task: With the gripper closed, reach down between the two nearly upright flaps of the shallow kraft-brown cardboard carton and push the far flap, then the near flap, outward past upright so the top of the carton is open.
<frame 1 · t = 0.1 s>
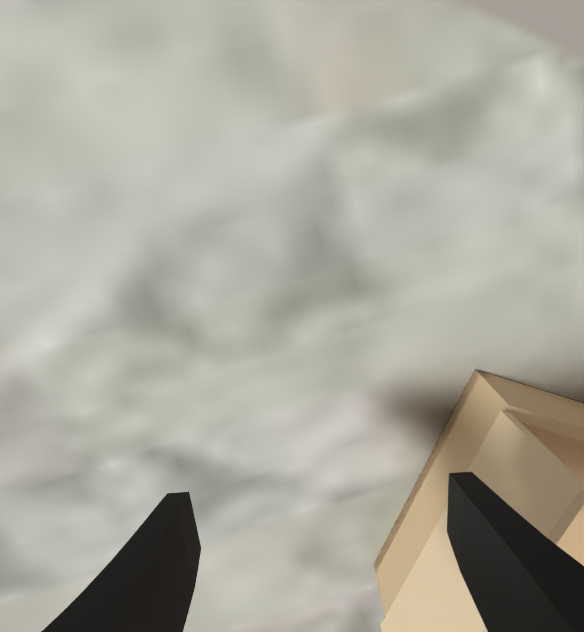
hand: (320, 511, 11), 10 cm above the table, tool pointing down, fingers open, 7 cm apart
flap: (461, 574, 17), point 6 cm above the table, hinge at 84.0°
carton: (522, 504, 24), on the table
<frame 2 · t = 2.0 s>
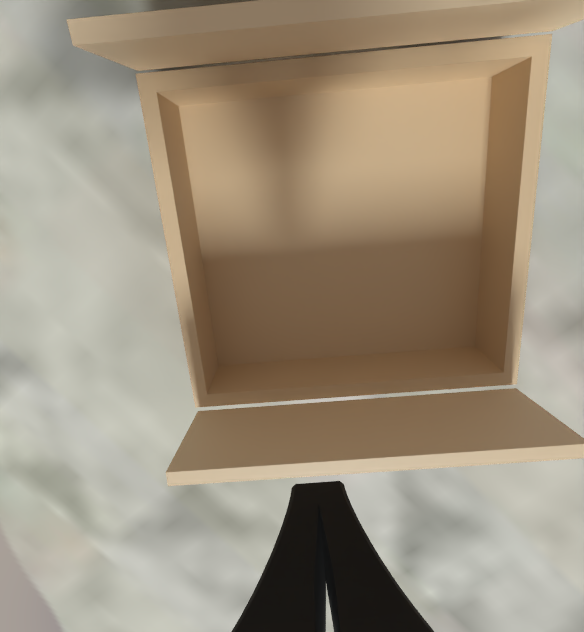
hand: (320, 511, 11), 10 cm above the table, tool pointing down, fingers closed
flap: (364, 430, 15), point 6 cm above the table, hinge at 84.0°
carton: (338, 235, 19), on the table
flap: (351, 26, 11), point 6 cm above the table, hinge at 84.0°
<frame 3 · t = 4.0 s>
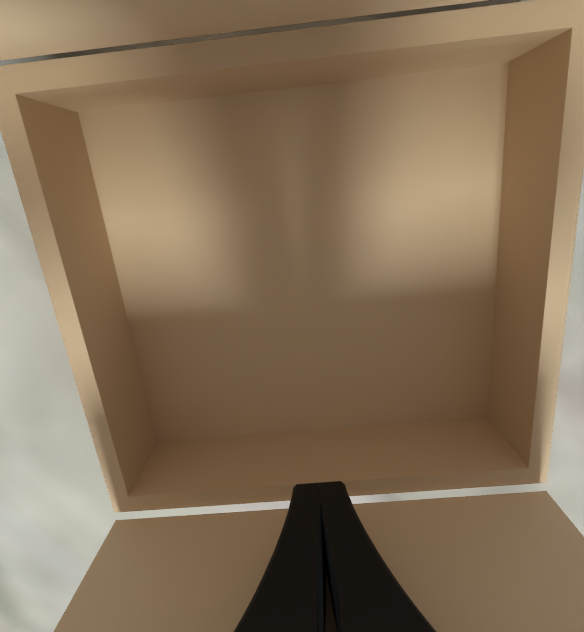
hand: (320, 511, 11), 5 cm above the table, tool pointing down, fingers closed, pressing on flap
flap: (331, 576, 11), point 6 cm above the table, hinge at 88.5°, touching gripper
carton: (305, 277, 15), on the table
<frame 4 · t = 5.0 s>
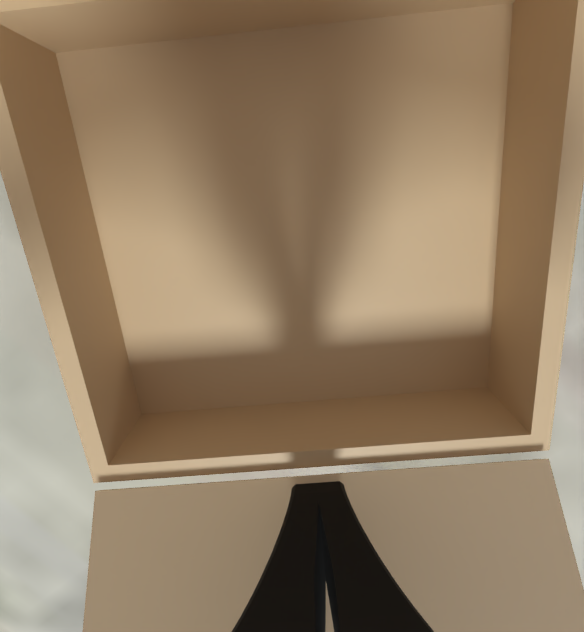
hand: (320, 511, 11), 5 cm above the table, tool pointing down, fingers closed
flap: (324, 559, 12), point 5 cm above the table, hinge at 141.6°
carton: (297, 238, 14), on the table
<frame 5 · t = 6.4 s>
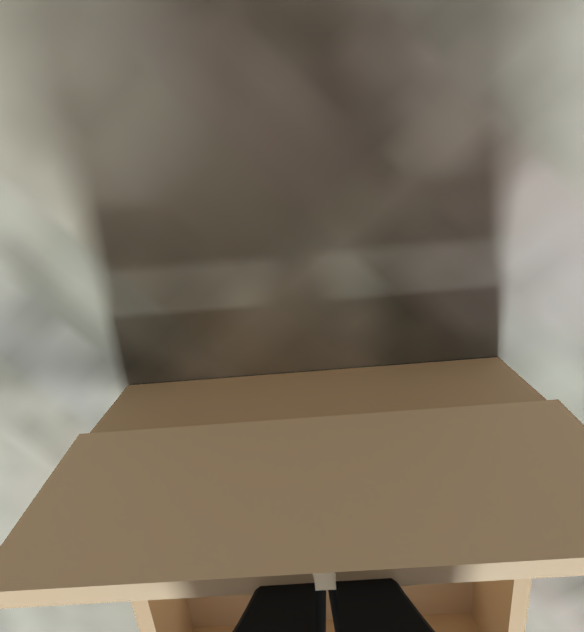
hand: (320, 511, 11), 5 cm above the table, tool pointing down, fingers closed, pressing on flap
carton: (321, 508, 18), on the table
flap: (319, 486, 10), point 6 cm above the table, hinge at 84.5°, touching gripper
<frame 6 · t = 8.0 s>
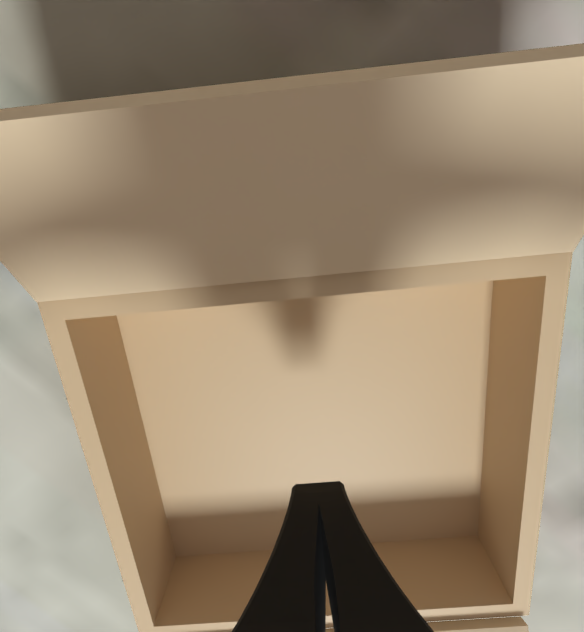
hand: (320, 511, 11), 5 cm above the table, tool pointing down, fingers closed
carton: (312, 417, 16), on the table
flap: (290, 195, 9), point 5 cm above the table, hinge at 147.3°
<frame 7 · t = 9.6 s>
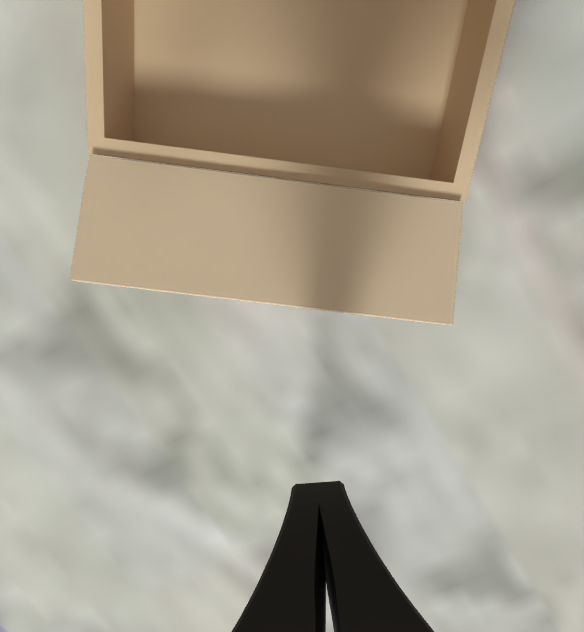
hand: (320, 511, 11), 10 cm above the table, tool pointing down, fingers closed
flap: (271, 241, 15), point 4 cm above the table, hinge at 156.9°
carton: (300, 7, 16), on the table
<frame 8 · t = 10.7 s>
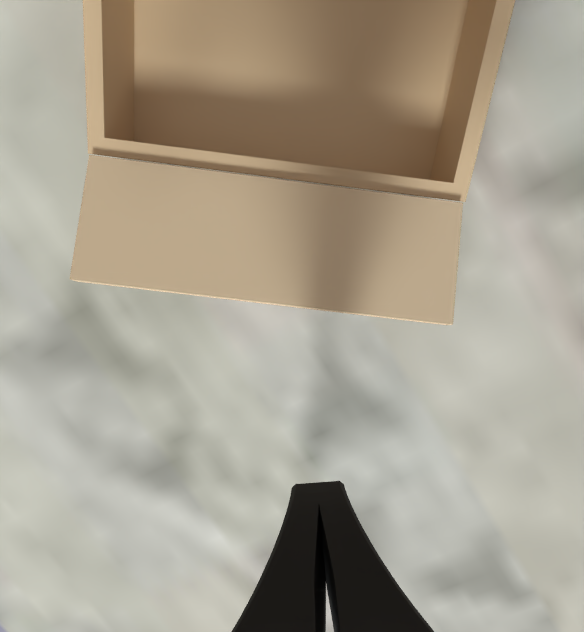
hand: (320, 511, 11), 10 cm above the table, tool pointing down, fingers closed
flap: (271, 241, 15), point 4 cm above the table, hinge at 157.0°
carton: (300, 7, 16), on the table
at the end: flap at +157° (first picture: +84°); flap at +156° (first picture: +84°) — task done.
